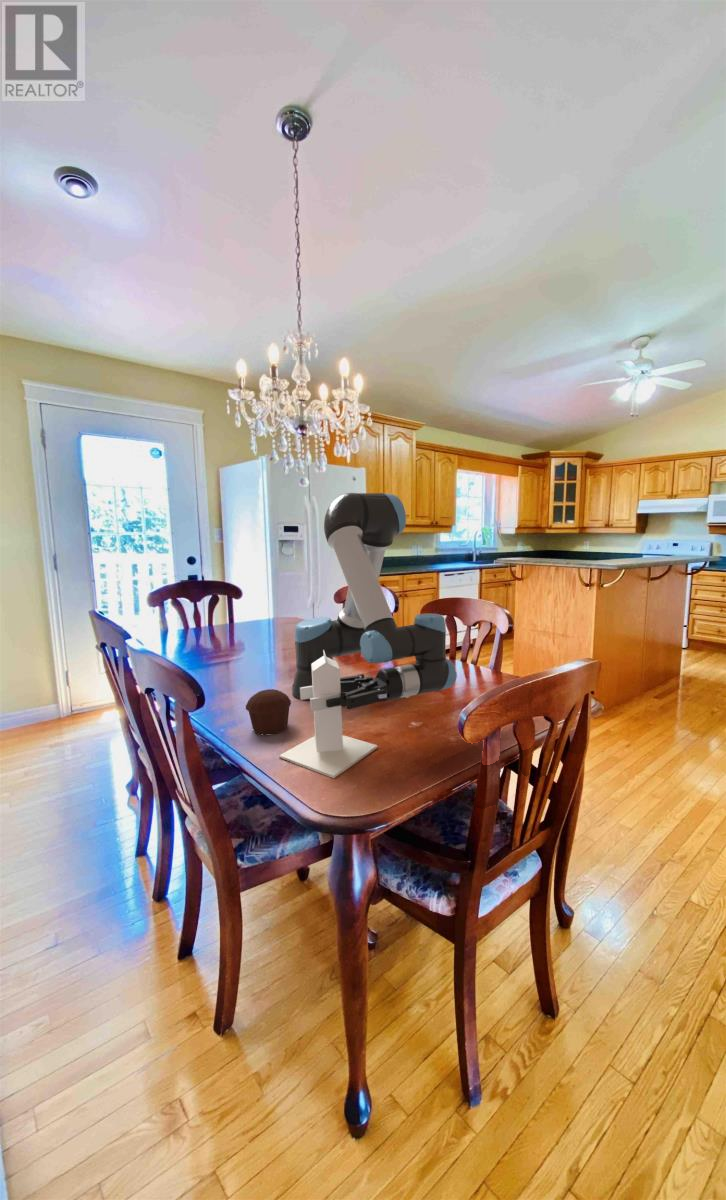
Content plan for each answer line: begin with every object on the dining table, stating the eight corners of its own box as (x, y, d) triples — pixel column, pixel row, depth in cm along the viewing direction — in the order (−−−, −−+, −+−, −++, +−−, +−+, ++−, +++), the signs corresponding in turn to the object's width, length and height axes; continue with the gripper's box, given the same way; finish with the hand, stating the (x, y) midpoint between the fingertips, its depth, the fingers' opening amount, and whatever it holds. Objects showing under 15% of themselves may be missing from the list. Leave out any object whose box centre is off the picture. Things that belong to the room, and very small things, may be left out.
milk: (340, 738, 109) (337, 648, 106) (343, 750, 103) (340, 654, 100) (314, 741, 108) (310, 650, 105) (316, 752, 102) (311, 656, 99)
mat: (325, 732, 117) (325, 729, 117) (377, 747, 108) (377, 745, 108) (279, 757, 104) (279, 755, 104) (333, 778, 95) (333, 775, 95)
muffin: (286, 716, 128) (284, 681, 126) (298, 731, 118) (296, 694, 117) (243, 725, 123) (240, 689, 122) (251, 741, 113) (248, 702, 112)
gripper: (418, 711, 103) (320, 732, 93) (379, 685, 121) (294, 700, 112) (417, 679, 101) (319, 697, 92) (378, 657, 120) (292, 671, 111)
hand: (305, 699), depth 102 cm, fingers closed on milk, 7 cm apart
